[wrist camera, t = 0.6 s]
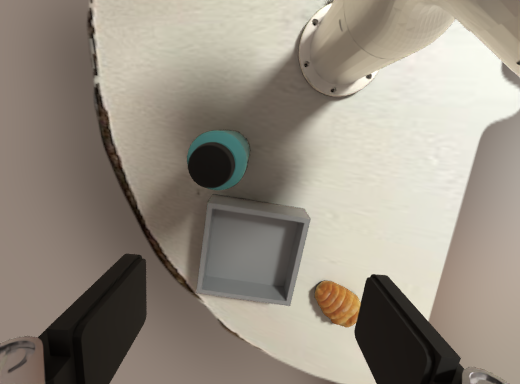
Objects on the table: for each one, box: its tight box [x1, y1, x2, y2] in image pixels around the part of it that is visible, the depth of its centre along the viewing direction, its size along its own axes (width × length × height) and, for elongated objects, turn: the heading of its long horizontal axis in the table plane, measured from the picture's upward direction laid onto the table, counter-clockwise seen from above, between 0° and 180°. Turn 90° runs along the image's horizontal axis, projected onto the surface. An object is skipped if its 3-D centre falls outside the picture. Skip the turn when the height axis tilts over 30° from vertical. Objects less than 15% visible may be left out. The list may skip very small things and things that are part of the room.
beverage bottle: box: [187, 130, 250, 190], centre depth 31 cm, size 6×7×20 cm
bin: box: [196, 194, 310, 306], centre depth 43 cm, size 16×16×5 cm
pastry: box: [315, 281, 361, 327], centre depth 47 cm, size 9×7×4 cm
